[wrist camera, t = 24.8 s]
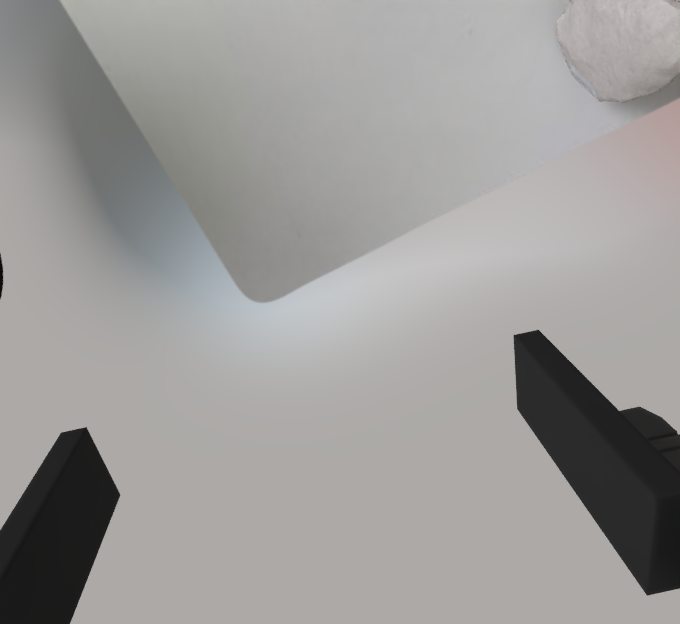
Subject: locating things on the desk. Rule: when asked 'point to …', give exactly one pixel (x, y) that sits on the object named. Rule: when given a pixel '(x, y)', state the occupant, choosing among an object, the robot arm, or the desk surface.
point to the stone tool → (621, 45)
